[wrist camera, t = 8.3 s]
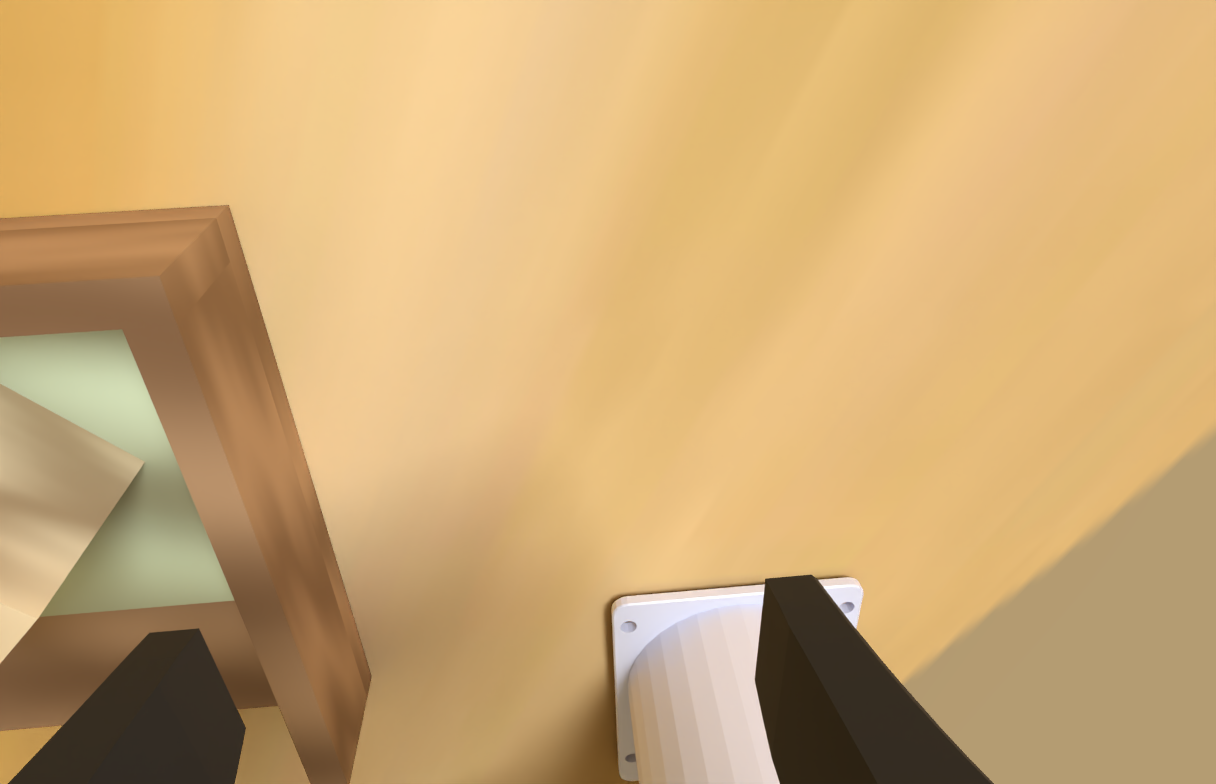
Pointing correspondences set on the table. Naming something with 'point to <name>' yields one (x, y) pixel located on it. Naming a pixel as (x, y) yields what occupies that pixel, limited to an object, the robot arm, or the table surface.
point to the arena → (177, 475)
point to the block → (48, 505)
